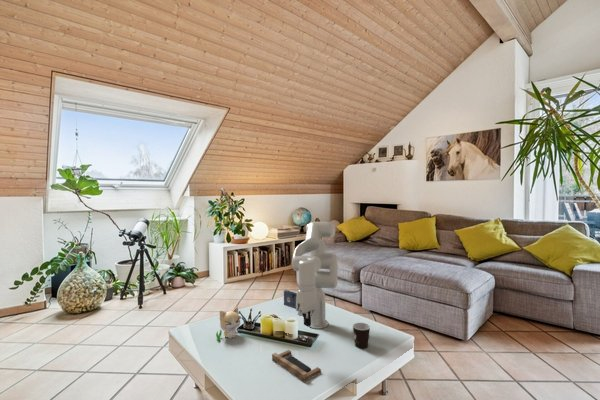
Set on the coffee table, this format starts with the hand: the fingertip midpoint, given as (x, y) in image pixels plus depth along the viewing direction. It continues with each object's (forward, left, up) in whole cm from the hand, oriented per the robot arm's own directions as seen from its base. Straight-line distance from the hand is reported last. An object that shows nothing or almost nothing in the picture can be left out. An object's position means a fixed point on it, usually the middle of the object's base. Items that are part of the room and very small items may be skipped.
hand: (307, 325), depth 144 cm
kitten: (-46, -16, -17) cm, 51 cm away
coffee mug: (+8, +30, -17) cm, 36 cm away
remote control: (0, -7, -17) cm, 18 cm away
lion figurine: (-31, +8, -17) cm, 36 cm away
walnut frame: (0, -7, -17) cm, 18 cm away
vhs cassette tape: (-53, +37, -17) cm, 67 cm away
